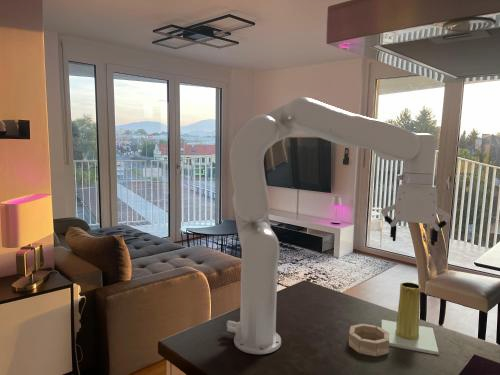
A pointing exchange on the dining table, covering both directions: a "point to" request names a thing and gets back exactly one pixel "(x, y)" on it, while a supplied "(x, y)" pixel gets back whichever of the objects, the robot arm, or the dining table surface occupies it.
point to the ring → (367, 345)
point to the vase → (408, 311)
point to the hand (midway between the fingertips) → (412, 242)
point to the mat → (421, 344)
